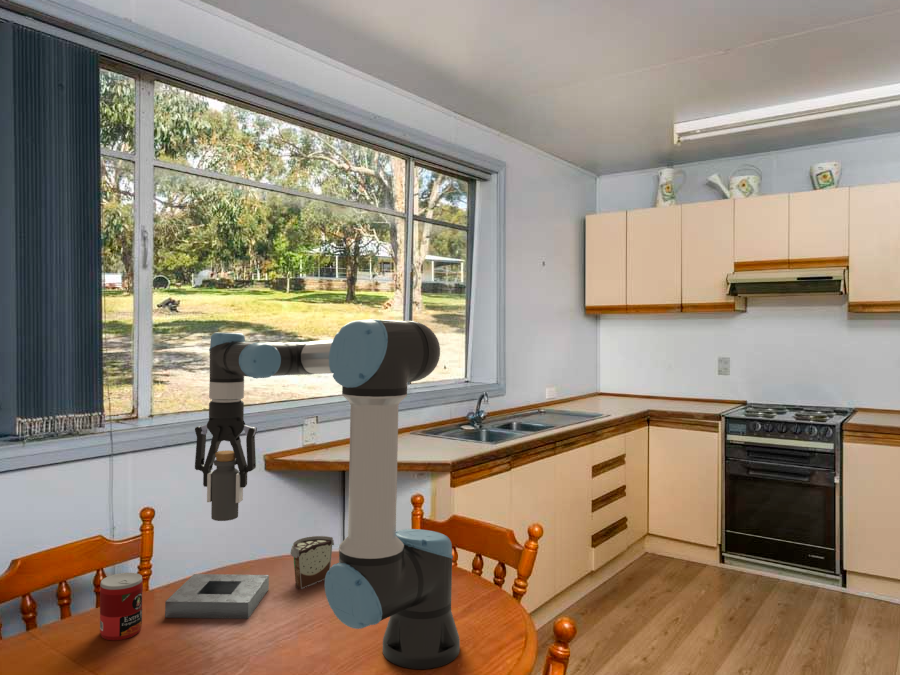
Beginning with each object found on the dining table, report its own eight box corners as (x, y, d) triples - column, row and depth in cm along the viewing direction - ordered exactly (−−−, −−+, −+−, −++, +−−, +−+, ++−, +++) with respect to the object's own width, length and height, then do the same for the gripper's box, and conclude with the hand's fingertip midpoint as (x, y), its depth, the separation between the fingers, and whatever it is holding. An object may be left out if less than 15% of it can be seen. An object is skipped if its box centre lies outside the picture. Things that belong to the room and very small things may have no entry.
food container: (317, 570, 170) (317, 532, 170) (333, 575, 166) (334, 536, 166) (279, 585, 160) (279, 544, 160) (296, 591, 156) (296, 549, 156)
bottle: (231, 512, 153) (232, 448, 153) (242, 518, 149) (243, 452, 149) (206, 517, 149) (208, 451, 149) (218, 522, 145) (219, 455, 145)
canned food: (125, 643, 129) (125, 588, 129) (90, 638, 131) (91, 584, 131) (150, 626, 137) (151, 574, 137) (117, 622, 138) (117, 570, 138)
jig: (248, 618, 141) (248, 602, 141) (165, 617, 141) (165, 601, 141) (268, 589, 157) (268, 574, 157) (193, 588, 157) (194, 574, 157)
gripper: (272, 399, 152) (270, 497, 153) (192, 397, 152) (190, 495, 153) (262, 402, 145) (261, 506, 145) (178, 401, 145) (177, 504, 145)
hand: (225, 500), depth 149 cm, fingers closed on bottle, 6 cm apart
